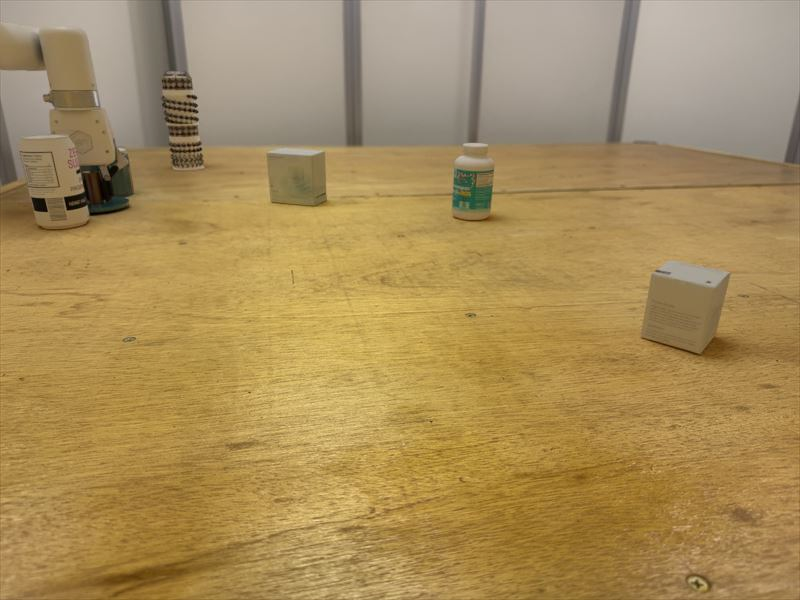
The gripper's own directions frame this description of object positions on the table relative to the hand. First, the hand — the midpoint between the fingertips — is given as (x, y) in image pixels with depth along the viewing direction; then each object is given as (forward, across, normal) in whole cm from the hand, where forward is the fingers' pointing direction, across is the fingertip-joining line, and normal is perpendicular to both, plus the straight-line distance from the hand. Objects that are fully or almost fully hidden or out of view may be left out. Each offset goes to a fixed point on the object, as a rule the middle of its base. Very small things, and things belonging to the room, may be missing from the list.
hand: (96, 199), depth 108 cm
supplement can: (+2, -3, -12) cm, 12 cm away
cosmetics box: (+2, +39, -2) cm, 39 cm away
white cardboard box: (+2, +72, -76) cm, 104 cm away
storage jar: (+2, -1, +14) cm, 14 cm away
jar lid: (+1, 0, 0) cm, 1 cm away
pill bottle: (+2, +70, -22) cm, 73 cm away
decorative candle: (+2, +13, +48) cm, 49 cm away
